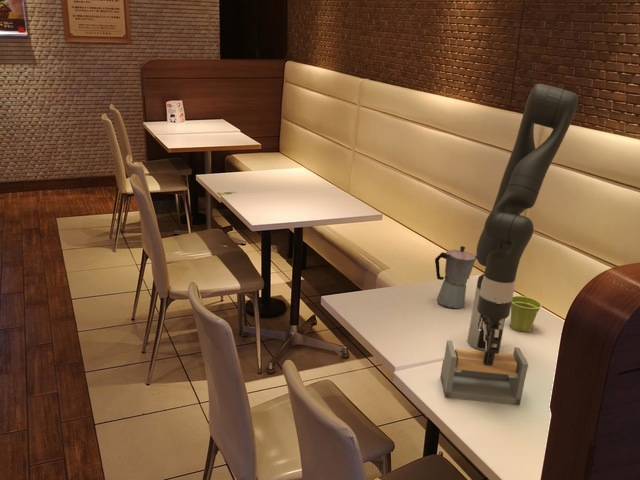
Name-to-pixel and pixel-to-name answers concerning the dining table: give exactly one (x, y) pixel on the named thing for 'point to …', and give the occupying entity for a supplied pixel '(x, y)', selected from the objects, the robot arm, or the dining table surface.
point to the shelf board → (474, 362)
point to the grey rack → (482, 381)
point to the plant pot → (523, 312)
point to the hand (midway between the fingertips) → (484, 356)
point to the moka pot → (455, 277)
